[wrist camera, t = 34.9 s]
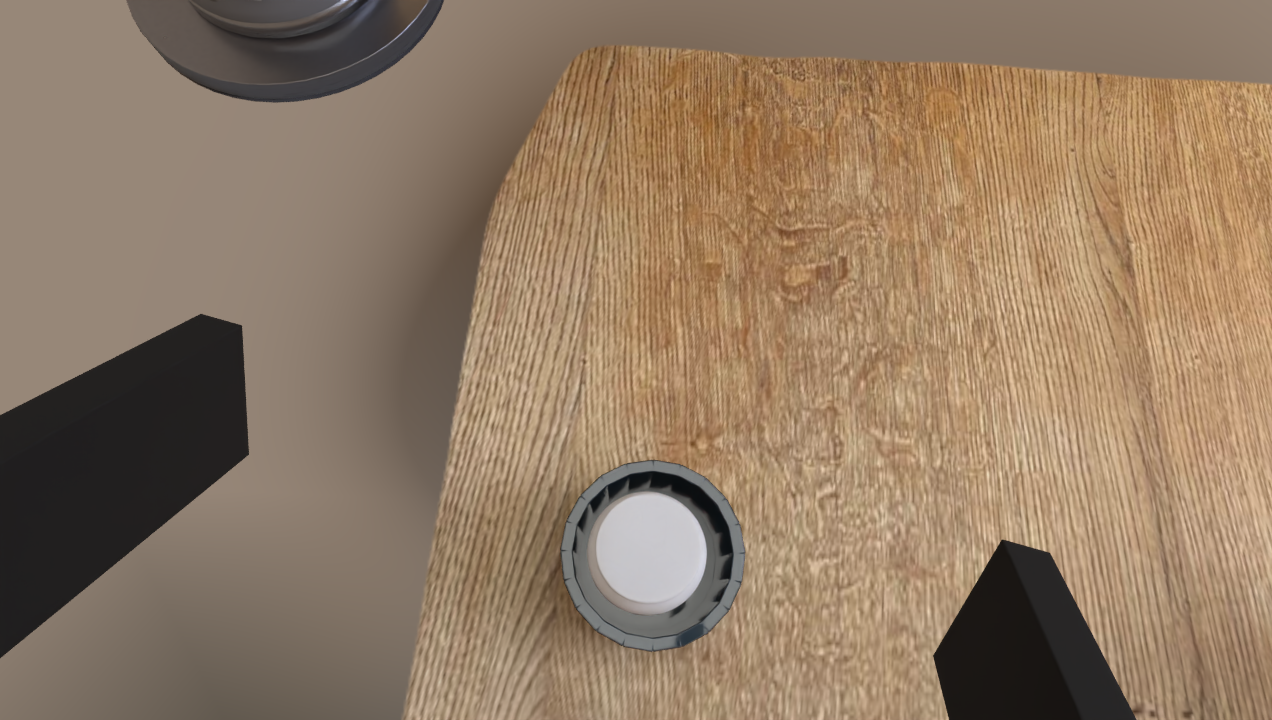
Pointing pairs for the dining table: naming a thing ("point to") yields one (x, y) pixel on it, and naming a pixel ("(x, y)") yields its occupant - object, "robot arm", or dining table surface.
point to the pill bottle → (646, 553)
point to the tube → (718, 574)
